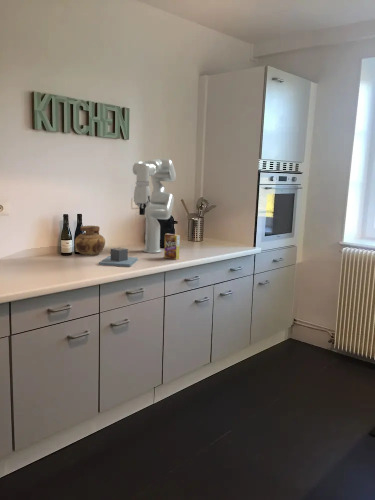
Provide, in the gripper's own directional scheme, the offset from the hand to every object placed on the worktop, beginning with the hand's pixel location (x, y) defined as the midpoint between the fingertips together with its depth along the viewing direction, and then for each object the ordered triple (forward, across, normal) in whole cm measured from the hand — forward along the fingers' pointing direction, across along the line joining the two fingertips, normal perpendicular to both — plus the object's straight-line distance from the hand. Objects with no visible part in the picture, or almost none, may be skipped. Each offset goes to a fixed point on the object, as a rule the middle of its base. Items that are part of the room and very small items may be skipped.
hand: (142, 214), depth 266 cm
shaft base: (+27, -1, -18) cm, 33 cm away
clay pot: (+27, -31, -14) cm, 44 cm away
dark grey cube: (+26, -1, -18) cm, 31 cm away
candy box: (+27, +13, +14) cm, 33 cm away
